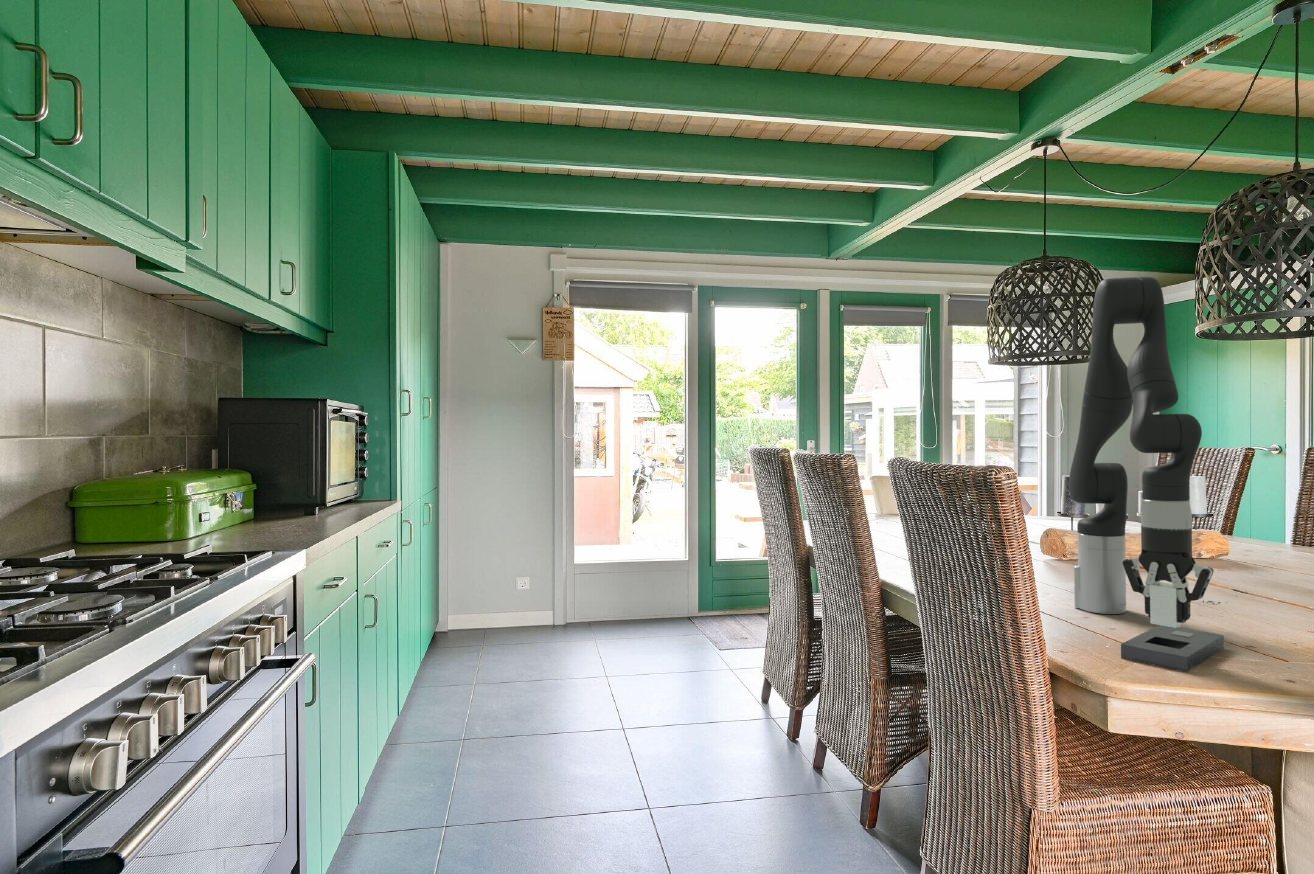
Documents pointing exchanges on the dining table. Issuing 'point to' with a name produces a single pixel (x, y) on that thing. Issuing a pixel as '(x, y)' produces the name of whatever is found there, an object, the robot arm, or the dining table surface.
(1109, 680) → the dining table surface
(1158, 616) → the grey rectangular block
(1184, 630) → the dark grey flat board
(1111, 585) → the robot arm
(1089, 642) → the dining table surface
